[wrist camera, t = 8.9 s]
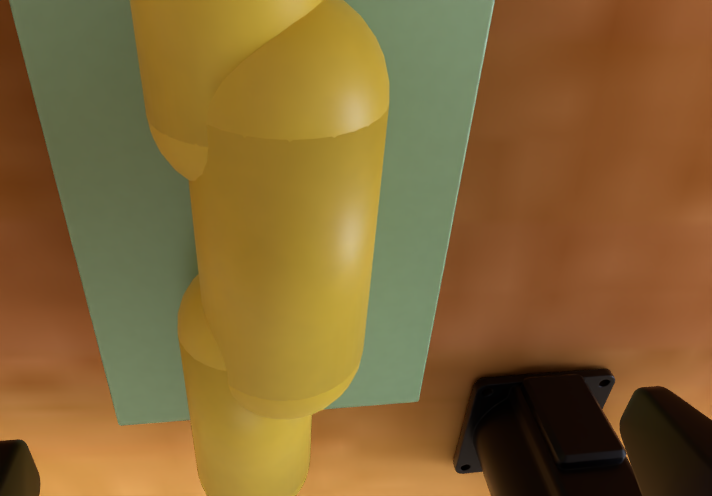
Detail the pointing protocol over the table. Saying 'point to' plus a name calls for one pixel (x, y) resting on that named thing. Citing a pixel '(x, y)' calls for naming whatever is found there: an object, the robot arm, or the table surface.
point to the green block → (173, 204)
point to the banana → (268, 216)
